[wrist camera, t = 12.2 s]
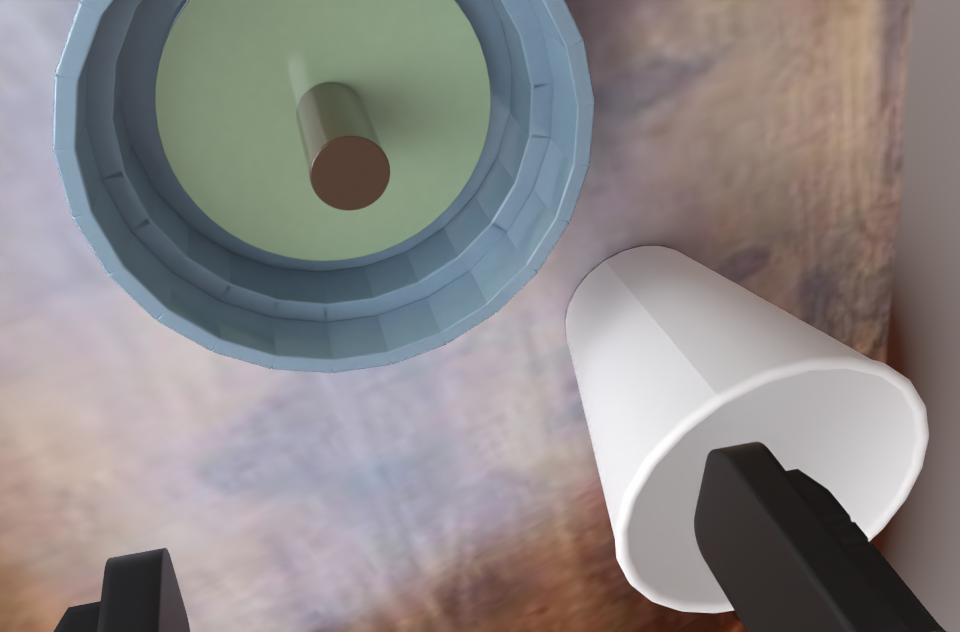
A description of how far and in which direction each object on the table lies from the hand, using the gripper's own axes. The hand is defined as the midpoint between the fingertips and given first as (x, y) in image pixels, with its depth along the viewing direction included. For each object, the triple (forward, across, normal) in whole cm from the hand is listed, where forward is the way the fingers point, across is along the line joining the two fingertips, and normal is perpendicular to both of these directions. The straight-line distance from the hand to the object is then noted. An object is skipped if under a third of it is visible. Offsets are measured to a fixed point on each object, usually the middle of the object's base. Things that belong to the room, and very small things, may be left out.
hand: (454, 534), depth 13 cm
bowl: (+22, 0, +1) cm, 22 cm away
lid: (+21, 0, +1) cm, 21 cm away
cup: (+22, -14, +12) cm, 29 cm away
